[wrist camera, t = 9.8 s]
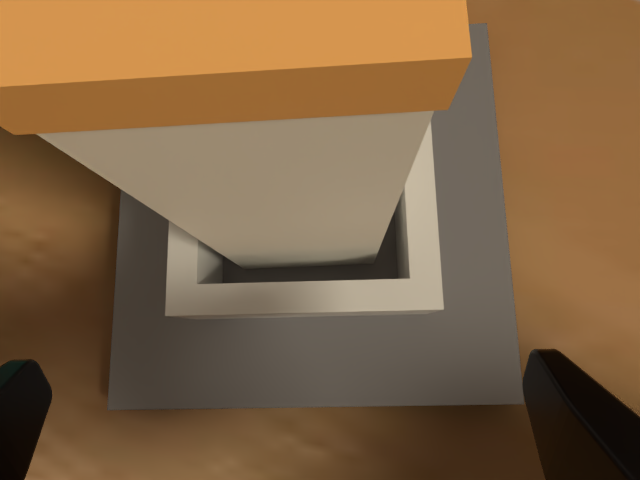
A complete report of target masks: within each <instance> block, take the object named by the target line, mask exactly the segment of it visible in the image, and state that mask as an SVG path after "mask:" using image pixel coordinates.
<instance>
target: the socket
mask: <svg viewBox="0 0 640 480" xmlns="http://www.w3.org/2000/svg"><path fill="white" fill-rule="evenodd" d="M469 33H470V42H471V51H472V59H471V61H470V63H469V65H468V68H467V70H466V72H465V74H464V76H463V78H462V81H461V83H460V85H459V87H458V89H457V92H456V94H455V96H454V98H453V100H452V102H451V105H450V107H449V109H448V110H437V111H434V113H433V115H432V118H431V120H430V123H429V125H428V128H427V130H426V133H425V135H424V138H423V140H422V143H421V146H420V148H419V151H418V153H417V156H416V158H415V161H414V163H413V166H412V168H411V171H410V173H409V176H408V178H407V181H406V183H405V186H404V188H403V191H402V193H401V196H400V198H399V201H398V203H397V206H396V208H395V211H394V213H393V216H392V218H391V221H390V223H389V226H388V228H387V231H386V233H385V236H384V238H383V241H382V243H381V246H380V248H379V251H378V253H377V256H376V258H375V261H374V263H369V264H346V265H324V266H302V267H280V268H257V269H243V268H242V267H240V266H239V265H237V264H235V263H234V262H232V261H231V260H229V259H228V258H226V257H225V256H223V255H222V254H220V253H219V252H217V251H215V250H214V249H212V248H211V247H209V246H208V245H206V244H205V243H203V242H202V241H200V240H198V239H197V238H195V237H194V236H192V235H191V234H189V233H188V232H186V231H185V230H183V229H182V228H180V227H178V226H177V225H175V224H174V223H172V222H171V221H169V220H168V219H166V218H165V217H163V216H162V215H160V214H158V213H157V212H155V211H154V210H152V209H151V208H149V207H148V206H146V205H145V204H143V203H141V202H140V201H138V200H137V199H135V198H134V197H132V196H131V195H129V194H128V193H126V192H125V191H123V190H121V197H120V213H119V229H118V245H117V261H116V277H115V293H114V310H113V326H112V342H111V358H110V374H109V390H108V406H107V410H153V409H223V408H294V407H364V406H435V405H505V404H524V396H523V386H522V376H521V365H520V355H519V345H518V335H517V325H516V315H515V304H514V294H513V284H512V274H511V264H510V254H509V244H508V233H507V223H506V213H505V203H504V193H503V183H502V172H501V162H500V152H499V142H498V132H497V122H496V111H495V101H494V91H493V81H492V71H491V61H490V50H489V40H488V30H487V23H482V24H469Z"/></svg>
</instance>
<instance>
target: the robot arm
mask: <svg viewBox="0 0 640 480" xmlns="http://www.w3.org/2000/svg"><path fill="white" fill-rule="evenodd" d="M522 386H523V394H524V398H525V402H526V406H527V410H528V414H529V418H530V422H531V426H532V430H533V433H534V437H535V441H536V445H537V449H538V453H539V457H540V461H541V465H542V468H543V472H544V476H545V479H546V480H640V417H639V416H638V415H637V414H636V413H635V412H633V411H632V410H631V409H630V408H628V407H627V406H626V405H625V404H624V403H622V402H621V401H620V400H619V399H617V398H616V397H615V396H614V395H613V394H611V393H610V392H609V391H608V390H606V389H605V388H604V387H603V386H602V385H600V384H599V383H598V382H597V381H595V380H594V379H593V378H592V377H591V376H589V375H588V374H587V373H586V372H584V371H583V370H582V369H581V368H580V367H578V366H577V365H576V364H575V363H573V362H572V361H571V360H570V359H569V358H567V357H566V356H565V355H564V354H562V353H561V352H560V351H558V350H556V349H535V350H532V351H531V353H530V355H529V358H528V362H527V366H526V370H525V374H524V377H523V384H522ZM51 399H52V390H51V387H50V385H49V383H48V381H47V379H46V377H45V375H44V374H43V372H42V370H41V368H40V366H39V364H38V363H37V362H36V361H34V360H31V359H26V360H11V361H9V362H7V363H5V364H4V365H2V366H1V367H0V480H24V479H25V477H26V474H27V471H28V469H29V466H30V463H31V460H32V457H33V454H34V451H35V448H36V445H37V442H38V439H39V436H40V433H41V430H42V427H43V424H44V421H45V418H46V415H47V412H48V409H49V406H50V403H51Z"/></svg>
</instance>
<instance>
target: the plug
mask: <svg viewBox="0 0 640 480" xmlns="http://www.w3.org/2000/svg"><path fill="white" fill-rule="evenodd" d="M471 59H472V51H471V42H470V33H469V24H468V15H467V6H466V0H0V127H2V128H4V129H5V130H7V131H9V132H10V133H12V134H14V135H24V134H37V135H38V136H40V137H41V138H43V139H44V140H46V141H47V142H49V143H51V144H52V145H54V146H55V147H57V148H58V149H60V150H61V151H63V152H64V153H66V154H68V155H69V156H71V157H72V158H74V159H75V160H77V161H78V162H80V163H81V164H83V165H84V166H86V167H88V168H89V169H91V170H92V171H94V172H95V173H97V174H98V175H100V176H101V177H103V178H104V179H106V180H108V181H109V182H111V183H112V184H114V185H115V186H117V187H118V188H120V189H121V190H123V191H125V192H126V193H128V194H129V195H131V196H132V197H134V198H135V199H137V200H138V201H140V202H141V203H143V204H145V205H146V206H148V207H149V208H151V209H152V210H154V211H155V212H157V213H158V214H160V215H162V216H163V217H165V218H166V219H168V220H169V221H171V222H172V223H174V224H175V225H177V226H178V227H180V228H182V229H183V230H185V231H186V232H188V233H189V234H191V235H192V236H194V237H195V238H197V239H198V240H200V241H202V242H203V243H205V244H206V245H208V246H209V247H211V248H212V249H214V250H215V251H217V252H219V253H220V254H222V255H223V256H225V257H226V258H228V259H229V260H231V261H232V262H234V263H235V264H237V265H239V266H240V267H242V268H243V269H257V268H280V267H302V266H324V265H346V264H369V263H374V261H375V258H376V256H377V253H378V251H379V248H380V246H381V243H382V241H383V238H384V236H385V233H386V231H387V228H388V226H389V223H390V221H391V218H392V216H393V213H394V211H395V208H396V206H397V203H398V201H399V198H400V196H401V193H402V191H403V188H404V186H405V183H406V181H407V178H408V176H409V173H410V171H411V168H412V166H413V163H414V161H415V158H416V156H417V153H418V151H419V148H420V146H421V143H422V140H423V138H424V135H425V133H426V130H427V128H428V125H429V123H430V120H431V118H432V115H433V113H434V111H437V110H448V109H449V107H450V105H451V102H452V100H453V98H454V96H455V94H456V92H457V89H458V87H459V85H460V83H461V81H462V78H463V76H464V74H465V72H466V70H467V68H468V65H469V63H470V61H471Z"/></svg>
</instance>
